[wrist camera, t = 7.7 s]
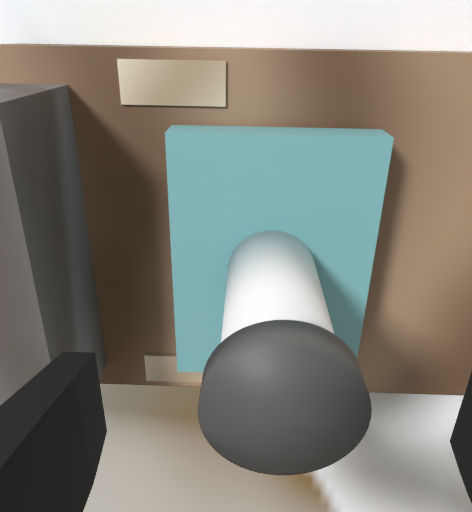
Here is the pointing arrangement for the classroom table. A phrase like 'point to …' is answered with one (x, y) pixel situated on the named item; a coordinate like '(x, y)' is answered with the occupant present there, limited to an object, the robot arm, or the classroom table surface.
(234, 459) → the teal plate with post
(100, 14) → the classroom table surface
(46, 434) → the robot arm
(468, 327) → the bench base
